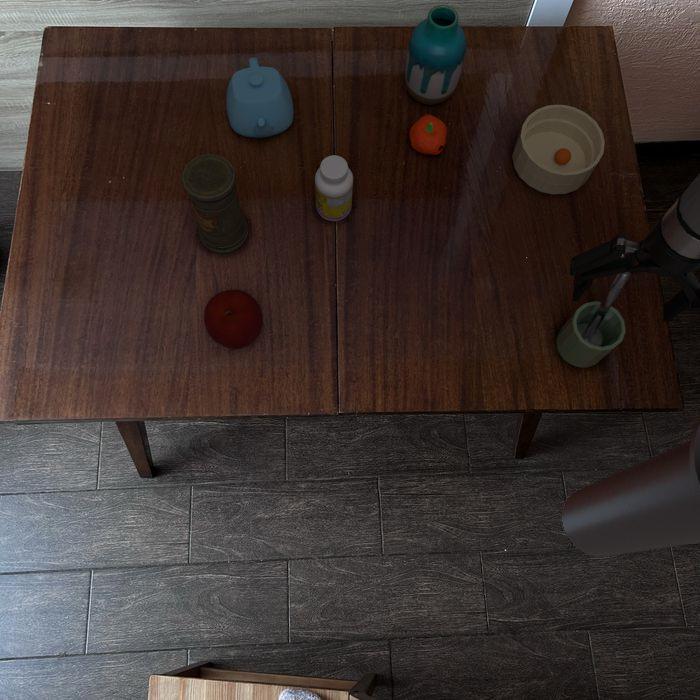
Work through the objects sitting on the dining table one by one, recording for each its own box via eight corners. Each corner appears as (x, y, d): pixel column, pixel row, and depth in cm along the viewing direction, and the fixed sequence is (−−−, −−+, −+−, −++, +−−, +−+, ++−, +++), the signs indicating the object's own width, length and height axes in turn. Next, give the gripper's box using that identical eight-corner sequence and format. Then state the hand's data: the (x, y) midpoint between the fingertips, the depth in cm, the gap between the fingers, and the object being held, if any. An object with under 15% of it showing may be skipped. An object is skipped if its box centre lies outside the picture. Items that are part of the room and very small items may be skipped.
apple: (230, 297, 122) (222, 271, 112) (276, 323, 120) (272, 299, 111) (199, 340, 119) (188, 318, 109) (246, 367, 117) (239, 347, 108)
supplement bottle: (315, 192, 129) (313, 150, 117) (350, 190, 130) (352, 148, 117) (316, 223, 127) (315, 184, 115) (352, 222, 127) (355, 182, 115)
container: (226, 201, 128) (211, 141, 111) (259, 232, 126) (248, 176, 109) (189, 231, 126) (167, 174, 109) (221, 263, 124) (204, 210, 107)
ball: (569, 158, 129) (552, 158, 130) (570, 168, 131) (554, 167, 132) (572, 145, 129) (555, 144, 131) (573, 155, 132) (556, 154, 133)
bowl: (585, 203, 130) (599, 182, 123) (506, 186, 131) (515, 164, 124) (595, 137, 135) (608, 114, 129) (518, 121, 136) (527, 97, 129)
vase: (398, 72, 139) (408, -6, 121) (450, 69, 140) (468, -10, 122) (405, 116, 136) (417, 42, 118) (459, 112, 136) (478, 38, 118)
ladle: (579, 362, 118) (626, 287, 98) (560, 339, 120) (602, 261, 100) (603, 349, 119) (654, 272, 99) (584, 326, 121) (630, 247, 101)
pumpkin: (443, 126, 135) (449, 104, 129) (446, 161, 132) (452, 140, 126) (407, 126, 135) (410, 104, 129) (409, 161, 132) (413, 140, 126)
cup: (602, 372, 119) (623, 355, 110) (552, 361, 119) (569, 343, 111) (607, 328, 122) (628, 308, 113) (559, 317, 122) (576, 296, 114)
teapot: (226, 128, 121) (216, 47, 127) (234, 164, 131) (224, 87, 137) (298, 120, 122) (285, 39, 128) (300, 156, 132) (288, 80, 138)
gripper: (794, 229, 84) (705, 299, 104) (591, 185, 86) (541, 263, 106) (793, 283, 82) (702, 345, 102) (583, 237, 83) (534, 307, 103)
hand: (620, 303), depth 104 cm, fingers open, 13 cm apart
